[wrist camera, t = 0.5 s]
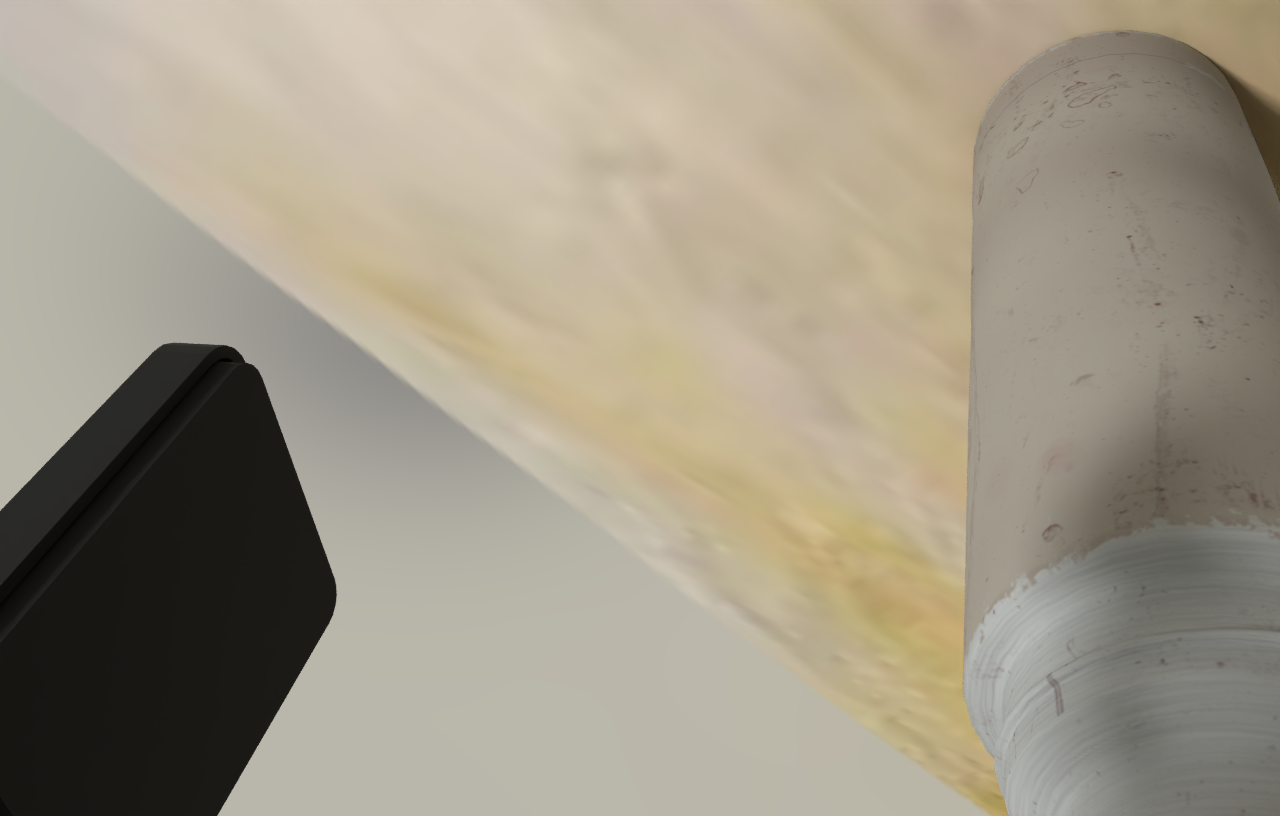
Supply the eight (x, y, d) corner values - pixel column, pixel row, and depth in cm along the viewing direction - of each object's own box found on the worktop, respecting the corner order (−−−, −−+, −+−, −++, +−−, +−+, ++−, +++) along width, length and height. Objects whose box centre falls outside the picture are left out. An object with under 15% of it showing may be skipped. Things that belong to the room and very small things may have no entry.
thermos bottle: (1106, 305, 41) (1241, 1219, 19) (922, 173, 39) (841, 993, 18) (1303, 131, 36) (1791, 1093, 14) (1101, -26, 34) (1296, 770, 13)
